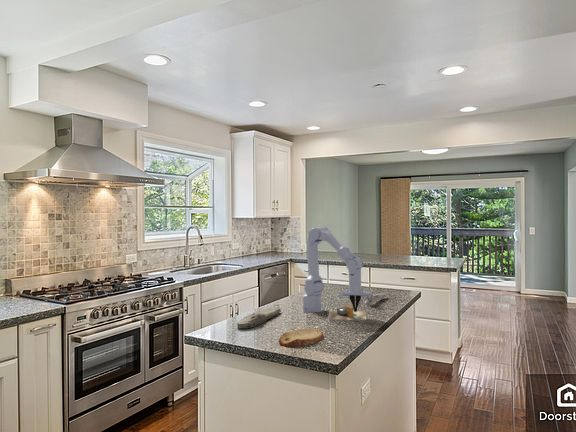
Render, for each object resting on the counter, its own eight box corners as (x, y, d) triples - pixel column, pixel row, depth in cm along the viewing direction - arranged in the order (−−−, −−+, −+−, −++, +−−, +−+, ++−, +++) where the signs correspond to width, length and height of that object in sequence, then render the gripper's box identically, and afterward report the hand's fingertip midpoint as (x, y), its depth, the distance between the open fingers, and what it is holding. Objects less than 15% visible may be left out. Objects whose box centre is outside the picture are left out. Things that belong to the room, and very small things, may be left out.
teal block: (353, 318, 182) (353, 318, 182) (355, 318, 182) (355, 317, 182) (355, 319, 180) (355, 319, 180) (358, 319, 180) (358, 318, 180)
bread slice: (322, 333, 164) (322, 324, 164) (325, 347, 146) (325, 338, 146) (280, 333, 165) (280, 324, 165) (278, 348, 147) (278, 338, 147)
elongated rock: (285, 315, 199) (268, 315, 203) (285, 305, 200) (268, 304, 204) (250, 330, 168) (231, 329, 172) (250, 318, 168) (231, 317, 172)
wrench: (386, 303, 231) (365, 307, 206) (383, 302, 232) (362, 306, 208) (387, 289, 231) (365, 292, 207) (384, 289, 232) (362, 291, 208)
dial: (334, 312, 194) (334, 302, 194) (350, 311, 195) (349, 301, 195) (343, 318, 181) (343, 308, 181) (359, 317, 183) (359, 307, 183)
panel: (327, 321, 182) (327, 318, 182) (329, 311, 200) (329, 309, 200) (366, 322, 179) (366, 320, 179) (365, 312, 197) (365, 310, 197)
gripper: (370, 281, 188) (370, 309, 188) (340, 281, 190) (340, 308, 190) (370, 284, 181) (371, 313, 181) (339, 283, 183) (339, 312, 183)
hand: (355, 311), depth 185 cm, fingers closed
